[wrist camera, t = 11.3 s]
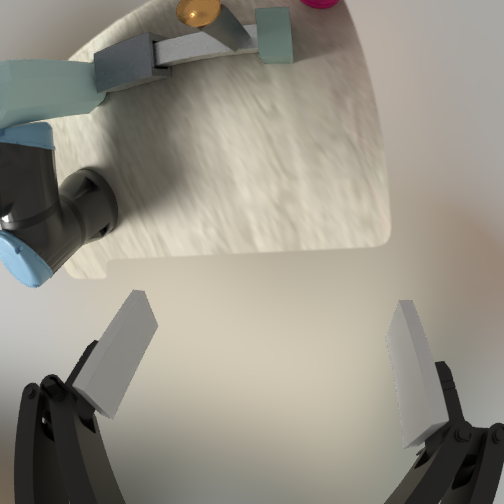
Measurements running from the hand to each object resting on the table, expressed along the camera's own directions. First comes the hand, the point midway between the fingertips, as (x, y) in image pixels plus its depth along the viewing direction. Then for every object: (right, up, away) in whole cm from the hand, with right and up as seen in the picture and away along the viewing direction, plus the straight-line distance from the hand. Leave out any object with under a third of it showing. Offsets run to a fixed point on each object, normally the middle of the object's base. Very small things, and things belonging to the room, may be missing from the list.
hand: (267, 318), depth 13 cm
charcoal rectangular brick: (-18, +33, +20) cm, 43 cm away
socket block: (+3, +33, +17) cm, 37 cm away
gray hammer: (-6, +32, +17) cm, 37 cm away
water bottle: (-29, +33, +22) cm, 49 cm away
